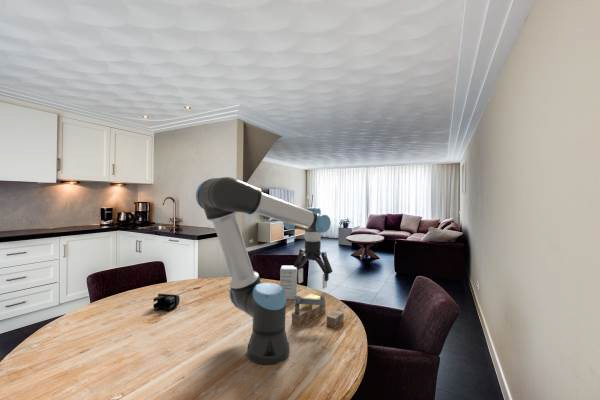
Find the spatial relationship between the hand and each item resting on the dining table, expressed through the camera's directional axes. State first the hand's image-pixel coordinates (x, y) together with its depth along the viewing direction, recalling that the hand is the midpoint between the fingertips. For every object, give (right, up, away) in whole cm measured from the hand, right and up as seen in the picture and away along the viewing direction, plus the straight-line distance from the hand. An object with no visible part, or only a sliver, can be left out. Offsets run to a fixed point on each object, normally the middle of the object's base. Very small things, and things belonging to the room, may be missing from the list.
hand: (312, 285), depth 132 cm
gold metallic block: (0, -10, 0) cm, 10 cm away
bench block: (+10, -15, -7) cm, 19 cm away
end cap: (-72, -14, +6) cm, 74 cm away
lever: (-2, -5, -10) cm, 12 cm away
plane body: (-1, -15, -1) cm, 15 cm away
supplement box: (-12, -15, +26) cm, 32 cm away
